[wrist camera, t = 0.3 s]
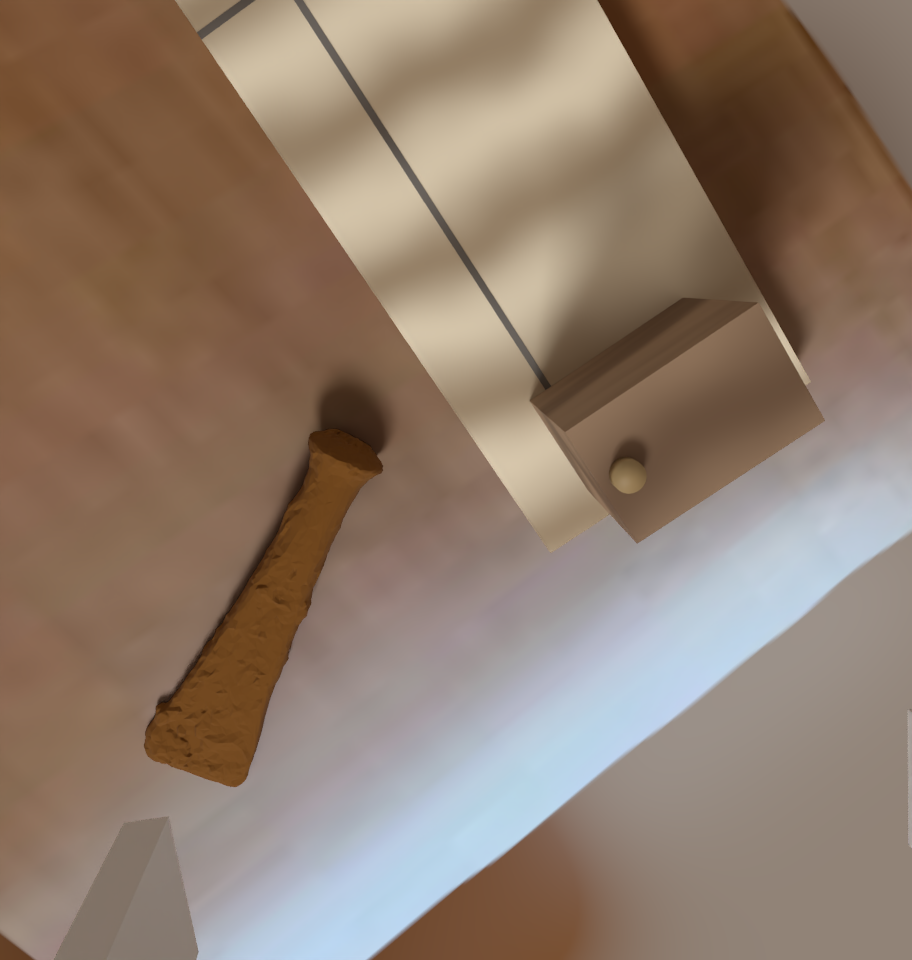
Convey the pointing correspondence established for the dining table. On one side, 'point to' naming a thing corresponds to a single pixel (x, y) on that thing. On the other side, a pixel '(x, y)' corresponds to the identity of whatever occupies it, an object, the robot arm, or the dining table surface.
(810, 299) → the dining table surface
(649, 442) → the beige drawer
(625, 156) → the board
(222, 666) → the primitive tool
